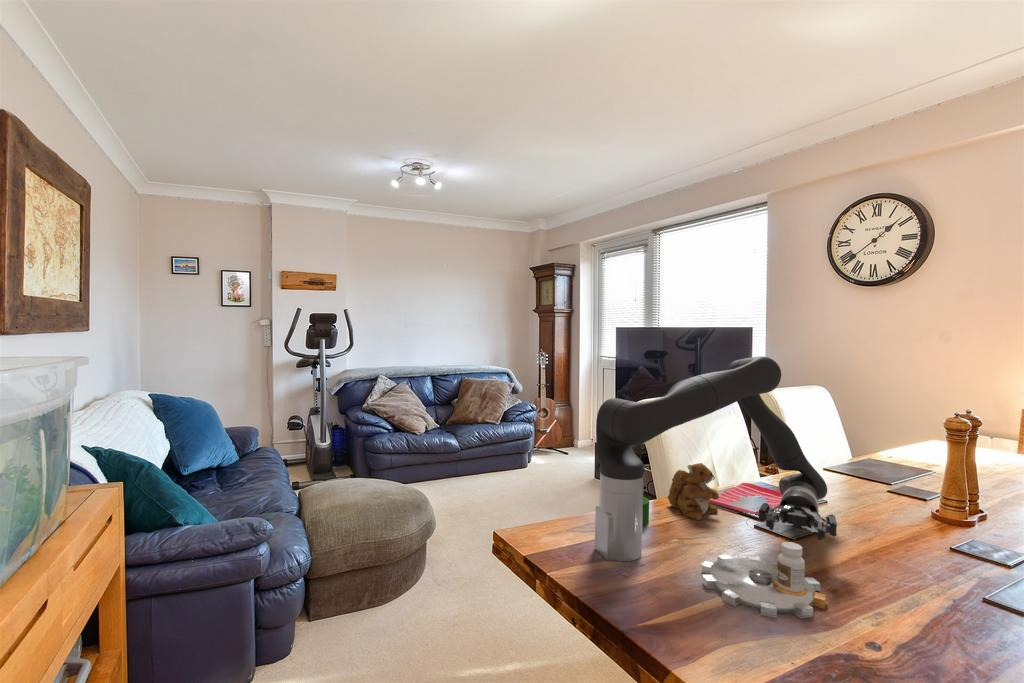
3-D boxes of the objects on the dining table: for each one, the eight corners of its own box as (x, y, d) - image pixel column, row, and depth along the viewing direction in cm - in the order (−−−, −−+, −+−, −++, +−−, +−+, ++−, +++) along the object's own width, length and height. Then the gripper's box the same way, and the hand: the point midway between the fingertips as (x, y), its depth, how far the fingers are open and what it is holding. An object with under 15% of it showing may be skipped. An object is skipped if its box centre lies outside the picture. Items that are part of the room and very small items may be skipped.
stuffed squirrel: (701, 522, 130) (702, 471, 129) (656, 505, 141) (658, 458, 141) (724, 515, 135) (726, 465, 135) (680, 499, 147) (681, 454, 146)
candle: (649, 517, 133) (650, 479, 132) (647, 529, 125) (648, 488, 124) (617, 512, 135) (618, 475, 135) (613, 524, 127) (614, 484, 127)
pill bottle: (771, 581, 96) (773, 540, 96) (793, 580, 97) (795, 540, 97) (786, 593, 92) (787, 550, 92) (809, 592, 92) (810, 550, 92)
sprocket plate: (755, 626, 84) (756, 611, 84) (679, 567, 105) (679, 555, 105) (854, 609, 90) (854, 595, 90) (763, 556, 111) (763, 545, 110)
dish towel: (799, 503, 147) (800, 494, 147) (764, 523, 131) (764, 513, 131) (740, 488, 159) (740, 480, 159) (701, 505, 144) (702, 495, 144)
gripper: (764, 484, 120) (756, 504, 106) (836, 495, 112) (837, 519, 99) (763, 516, 120) (755, 540, 106) (835, 529, 113) (836, 557, 99)
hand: (795, 530), depth 103 cm, fingers open, 8 cm apart
